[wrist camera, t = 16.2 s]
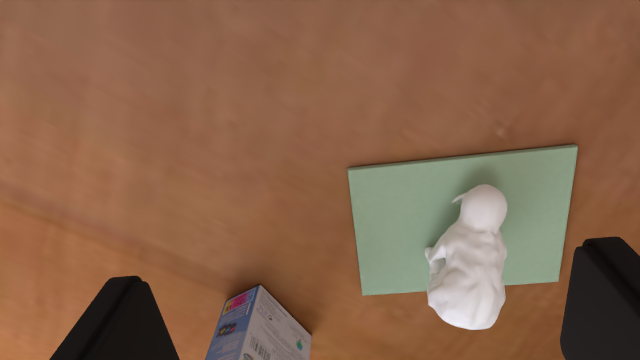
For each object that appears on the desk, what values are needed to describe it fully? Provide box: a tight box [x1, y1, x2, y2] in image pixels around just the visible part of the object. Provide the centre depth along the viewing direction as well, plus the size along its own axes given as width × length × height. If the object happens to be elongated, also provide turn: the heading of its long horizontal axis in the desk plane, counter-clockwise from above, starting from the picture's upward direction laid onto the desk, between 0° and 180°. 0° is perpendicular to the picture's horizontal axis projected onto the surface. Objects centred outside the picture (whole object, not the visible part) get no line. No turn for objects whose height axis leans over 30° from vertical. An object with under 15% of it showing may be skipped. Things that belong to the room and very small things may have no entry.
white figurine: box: [425, 184, 509, 330], centre depth 37 cm, size 6×8×12 cm
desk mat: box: [347, 144, 578, 295], centre depth 41 cm, size 20×15×1 cm
